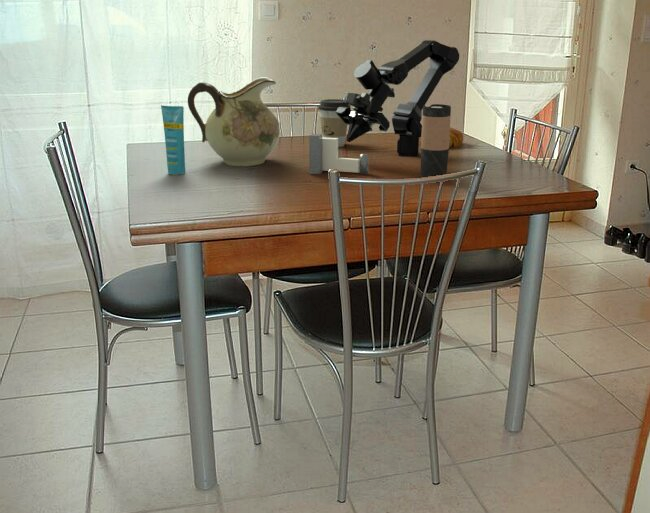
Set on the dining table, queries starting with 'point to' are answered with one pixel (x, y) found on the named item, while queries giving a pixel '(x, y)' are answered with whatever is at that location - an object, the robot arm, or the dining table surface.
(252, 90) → the pitcher
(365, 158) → the hinge post
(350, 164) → the gate
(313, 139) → the post
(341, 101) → the coffee cup
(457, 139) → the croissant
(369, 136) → the dining table surface
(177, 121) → the tube
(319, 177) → the dining table surface
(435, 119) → the travel mug
